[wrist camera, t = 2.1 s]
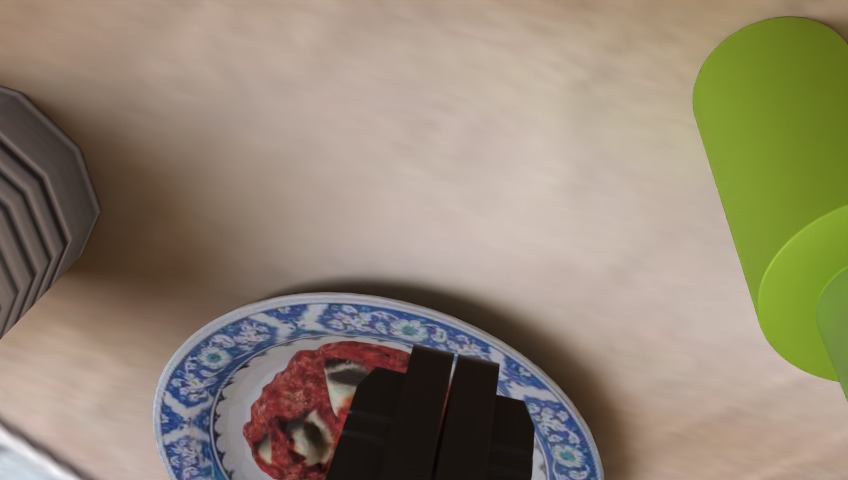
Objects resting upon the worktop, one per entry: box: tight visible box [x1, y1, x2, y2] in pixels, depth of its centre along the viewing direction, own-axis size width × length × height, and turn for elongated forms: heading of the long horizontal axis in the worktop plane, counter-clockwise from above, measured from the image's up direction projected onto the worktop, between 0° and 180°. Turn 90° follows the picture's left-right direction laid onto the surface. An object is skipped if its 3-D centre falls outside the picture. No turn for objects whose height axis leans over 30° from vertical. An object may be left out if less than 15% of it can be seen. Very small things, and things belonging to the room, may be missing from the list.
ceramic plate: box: [153, 292, 604, 480], centre depth 43 cm, size 26×26×3 cm
